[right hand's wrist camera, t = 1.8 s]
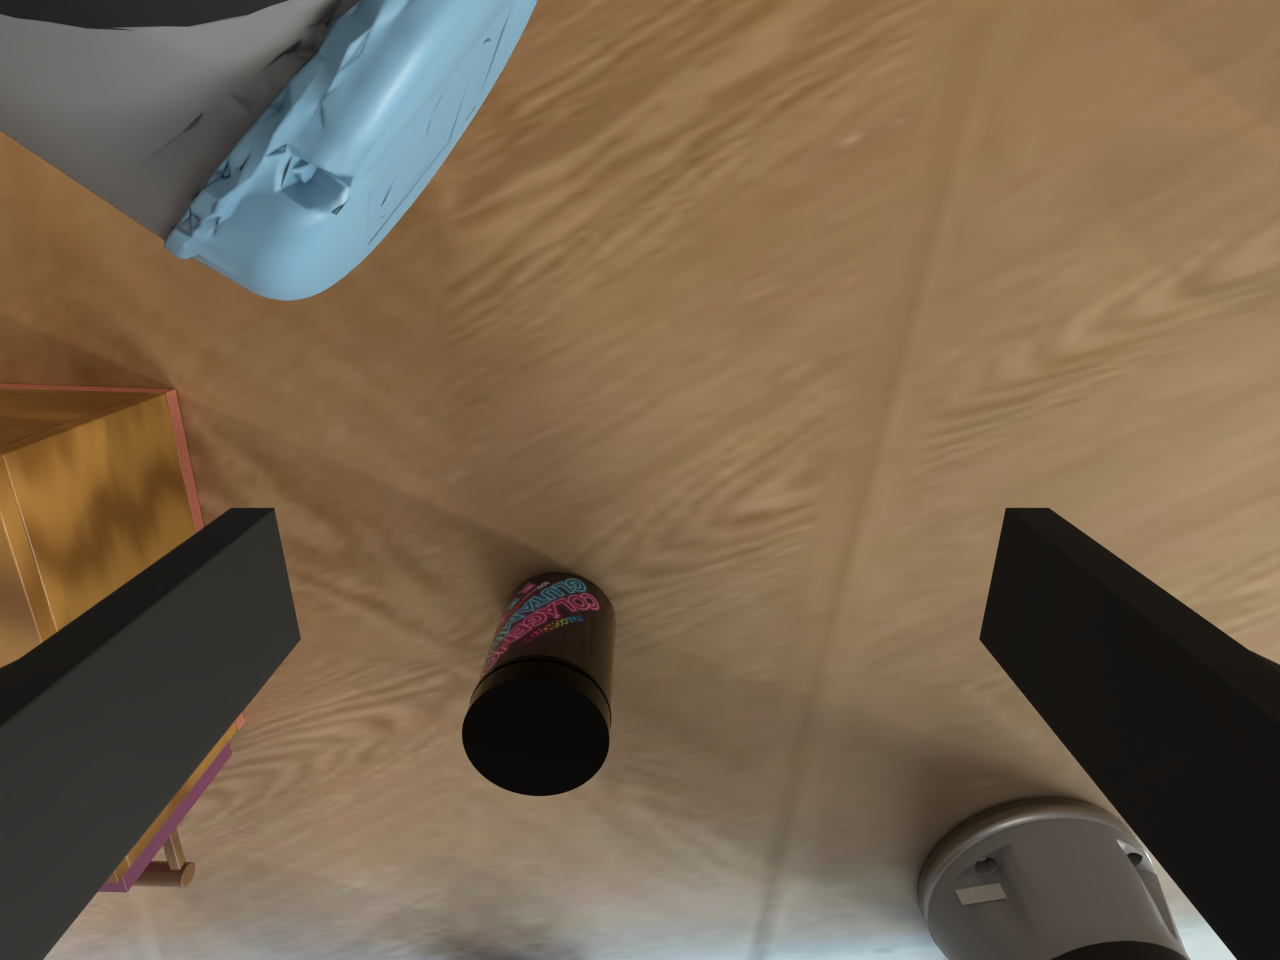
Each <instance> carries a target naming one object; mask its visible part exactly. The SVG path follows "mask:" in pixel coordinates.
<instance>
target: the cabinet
mask: <svg viewBox="0 0 1280 960" xmlns="http://www.w3.org/2000/svg"><path fill="white" fill-rule="evenodd" d="M202 528H204V524H203V519H202V514H201V510H200V505H199V500H198V495H197V490H196V485H195V481H194V476H193V471H192V466H191V461H190V456H189V452H188V447H187V442H186V437H185V432H184V428H183V423H182V418H181V413H180V408H179V403H178V399H177V394H176V389H153V388H123V387H93V386H63V385H33V384H4V383H0V668H1V667H3V666H5V665H7V664H9V663H11V662H13V661H16V660H18V659H20V658H21V657H22V656H24V655H25V654H27V653H28V652H29V651H31V650H32V649H34V648H35V647H36V646H38V645H39V644H41V643H42V642H43V641H45V640H46V639H48V638H49V637H50V636H52V635H53V634H55V633H56V632H58V631H59V630H60V629H62V628H63V627H65V626H66V625H67V624H69V623H70V622H72V621H73V620H74V619H76V618H77V617H79V616H80V615H81V614H83V613H84V612H86V611H87V610H88V609H90V608H91V607H93V606H94V605H96V604H97V603H98V602H100V601H101V600H103V599H104V598H105V597H107V596H108V595H110V594H111V593H112V592H114V591H115V590H117V589H118V588H119V587H121V586H122V585H124V584H125V583H126V582H128V581H129V580H131V579H132V578H133V577H135V576H136V575H138V574H139V573H141V572H142V571H143V570H145V569H146V568H148V567H149V566H150V565H152V564H153V563H155V562H156V561H157V560H159V559H160V558H162V557H163V556H164V555H166V554H167V553H169V552H170V551H171V550H173V549H174V548H176V547H177V546H179V545H180V544H181V543H183V542H184V541H186V540H187V539H188V538H190V537H191V536H193V535H194V534H195V533H197V532H198V531H200V530H201V529H202ZM243 724H244V717H243V712H242V713H241V714H240V715H239V717H238V718H237V719H236V720H235V722H234V723H233V724H232V725H231V726H230V728H229V729H228V730H227V731H226V733H225V734H224V735H223V736H222V738H221V739H220V740H219V741H218V743H217V744H216V745H215V746H214V748H213V749H212V750H211V751H210V753H209V754H208V755H207V756H206V758H205V759H204V760H203V761H202V763H201V764H200V765H199V766H198V767H197V769H196V770H195V771H194V772H193V774H192V775H191V776H190V777H189V779H188V780H187V781H186V782H185V784H184V785H183V786H182V787H181V789H180V790H179V791H178V792H177V794H176V795H175V796H174V797H173V799H172V800H171V801H170V802H169V804H168V805H167V806H166V807H165V808H164V810H163V811H162V812H161V813H160V815H159V816H158V817H157V818H156V820H155V821H154V822H153V823H152V825H151V826H150V827H149V828H148V830H147V831H146V832H145V833H144V835H143V836H142V837H141V838H140V840H139V841H138V842H137V843H136V845H135V846H134V847H133V848H132V850H131V851H130V852H129V853H128V854H127V856H126V857H125V858H124V859H123V861H122V862H121V863H120V864H119V866H118V867H117V868H116V869H115V871H114V872H113V873H112V874H111V876H110V877H109V878H108V879H107V881H106V883H118V882H119V881H120V880H121V878H122V877H123V876H124V875H125V873H126V872H127V871H128V869H129V867H131V865H132V864H133V863H134V862H135V860H136V859H137V858H138V856H139V855H140V854H141V853H142V851H143V850H144V849H145V848H146V846H147V845H148V844H149V842H150V841H151V840H152V839H153V837H154V836H155V835H156V833H157V832H158V831H159V830H160V828H161V827H162V826H163V825H164V823H165V822H166V821H167V819H168V818H169V817H170V816H171V814H172V813H173V812H174V811H175V809H176V808H177V807H178V805H179V804H180V803H181V802H182V800H183V799H184V798H185V796H186V795H187V794H188V793H189V791H190V790H191V789H192V788H193V786H194V785H195V784H196V782H197V781H198V780H199V779H200V777H201V776H202V775H203V774H204V772H205V771H206V770H207V768H208V767H209V766H210V765H211V763H212V762H213V761H214V759H215V758H216V757H217V756H218V754H219V753H220V752H221V751H222V749H223V748H224V747H225V745H226V744H227V743H228V742H229V740H230V739H231V738H232V737H233V735H234V734H235V733H236V731H238V730H239V729H240V727H241V726H242V725H243Z"/></svg>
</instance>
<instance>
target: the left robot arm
mask: <svg viewBox="0 0 1280 960" xmlns="http://www.w3.org/2000/svg"><path fill="white" fill-rule="evenodd" d="M536 3H537V0H0V131H1V132H3V133H4V134H6V135H7V136H9V137H10V138H12V139H13V140H15V141H16V142H18V143H19V144H21V145H22V146H24V147H25V148H27V149H28V150H30V151H31V152H33V153H34V154H36V155H37V156H39V157H40V158H42V159H43V160H45V161H46V162H48V163H49V164H51V165H52V166H54V167H55V168H57V169H58V170H60V171H61V172H63V173H64V174H66V175H67V176H69V177H70V178H72V179H73V180H75V181H76V182H78V183H79V184H81V185H82V186H84V187H85V188H87V189H88V190H90V191H91V192H93V193H94V194H96V195H97V196H99V197H100V198H102V199H103V200H105V201H106V202H108V203H109V204H111V205H112V206H114V207H115V208H117V209H118V210H120V211H121V212H123V213H124V214H126V215H127V216H129V217H130V218H132V219H133V220H135V221H136V222H138V223H139V224H141V225H142V226H144V227H145V228H147V229H148V230H150V231H151V232H153V233H154V234H156V235H157V236H159V237H160V238H162V239H163V240H165V243H164V248H166V249H167V250H168V251H169V252H171V253H172V254H173V255H174V256H176V257H178V258H180V259H190V258H194V259H196V260H197V261H199V262H201V263H203V264H204V265H206V266H208V267H210V268H212V269H213V270H215V271H217V272H218V273H220V274H222V275H223V276H225V277H227V278H229V279H230V280H232V281H234V282H235V283H237V284H239V285H240V286H242V287H244V288H245V289H247V290H249V291H250V292H253V293H255V294H257V295H260V296H263V297H266V298H269V299H276V300H287V301H291V300H299V299H304V298H308V297H311V296H313V295H316V294H318V293H321V292H323V291H324V290H326V289H328V288H329V287H331V286H332V285H334V284H335V283H336V282H338V281H339V280H340V279H342V278H343V277H345V276H346V275H347V274H348V273H349V272H350V271H351V270H353V269H354V268H355V267H356V266H357V265H358V264H359V263H360V262H361V261H362V260H363V259H365V258H366V257H367V256H368V255H369V253H370V252H371V251H372V250H373V249H374V248H375V247H376V246H377V245H378V244H379V243H380V242H381V241H382V239H383V238H384V237H385V236H386V235H387V234H388V233H389V231H390V230H391V229H392V228H393V227H394V226H395V224H396V223H397V222H398V221H399V220H400V218H401V217H402V216H403V215H404V213H405V212H406V211H407V210H408V209H409V207H410V206H411V205H412V204H413V203H414V201H415V200H416V199H417V197H418V196H419V195H420V193H421V192H422V191H423V189H424V188H425V187H426V185H427V184H428V183H429V182H430V180H431V179H432V177H433V176H434V175H435V173H436V172H437V171H438V169H439V168H440V166H441V165H442V164H443V162H444V161H445V159H446V158H447V156H448V155H449V153H450V152H451V150H452V149H453V147H454V146H455V145H456V143H457V142H458V140H459V139H460V137H461V136H462V134H463V133H464V131H465V130H466V128H467V127H468V125H469V124H470V122H471V121H472V119H473V118H474V116H475V114H476V113H477V111H478V110H479V108H480V107H481V105H482V103H483V102H484V100H485V99H486V97H487V95H488V94H489V92H490V90H491V89H492V87H493V85H494V84H495V82H496V80H497V78H498V77H499V75H500V73H501V72H502V70H503V68H504V67H505V65H506V63H507V61H508V59H509V57H510V56H511V54H512V52H513V50H514V48H515V46H516V44H517V42H518V41H519V39H520V37H521V35H522V33H523V31H524V29H525V27H526V25H527V23H528V20H529V18H530V16H531V14H532V12H533V10H534V7H535V5H536Z"/></svg>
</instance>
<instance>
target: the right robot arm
mask: <svg viewBox="0 0 1280 960" xmlns="http://www.w3.org/2000/svg"><path fill="white" fill-rule="evenodd" d="M300 639H301V638H300V633H299V628H298V623H297V619H296V614H295V609H294V604H293V599H292V594H291V589H290V584H289V579H288V574H287V569H286V564H285V559H284V554H283V550H282V545H281V540H280V535H279V530H278V525H277V520H276V515H275V510H274V508H231V509H229V510H228V511H226V512H225V513H224V514H222V515H221V516H219V517H218V518H217V519H215V520H214V521H212V522H211V523H209V524H208V525H207V526H205V527H204V528H202V529H201V530H200V531H198V532H197V533H195V534H194V535H193V536H191V537H190V538H188V539H187V540H186V541H184V542H183V543H181V544H180V545H179V546H177V547H176V548H174V549H173V550H171V551H170V552H169V553H167V554H166V555H164V556H163V557H162V558H160V559H159V560H157V561H156V562H155V563H153V564H152V565H150V566H149V567H148V568H146V569H145V570H143V571H142V572H141V573H139V574H138V575H136V576H135V577H133V578H132V579H131V580H129V581H128V582H126V583H125V584H124V585H122V586H121V587H119V588H118V589H117V590H115V591H114V592H112V593H111V594H110V595H108V596H107V597H105V598H104V599H103V600H101V601H100V602H98V603H97V604H96V605H94V606H93V607H91V608H90V609H88V610H87V611H86V612H84V613H83V614H81V615H80V616H79V617H77V618H76V619H74V620H73V621H72V622H70V623H69V624H67V625H66V626H65V627H63V628H62V629H60V630H59V631H58V632H56V633H55V634H53V635H52V636H50V637H49V638H48V639H46V640H45V641H43V642H42V643H41V644H39V645H38V646H36V647H35V648H34V649H32V650H31V651H29V652H28V653H27V654H25V655H24V656H22V657H21V658H20V659H18V660H16V661H13V662H11V663H9V664H7V665H5V666H3V667H1V668H0V960H43V959H44V958H45V956H46V955H47V954H48V953H49V951H50V950H51V949H52V948H53V946H54V945H55V944H56V943H57V941H58V940H59V939H60V938H61V937H62V935H63V934H64V933H65V932H66V930H67V929H68V928H69V927H70V925H71V924H72V923H73V922H74V920H75V919H76V918H77V917H78V915H79V914H80V913H81V912H82V910H83V909H84V908H85V907H86V905H87V904H88V903H89V902H90V900H91V899H92V898H93V897H94V895H95V894H96V893H97V892H98V891H99V889H100V888H101V887H102V886H103V884H104V883H105V882H106V881H107V879H108V878H109V877H110V876H111V874H112V873H113V872H114V871H115V869H116V868H117V867H118V866H119V864H120V863H121V862H122V861H123V859H124V858H125V857H126V856H127V854H128V853H129V852H130V851H131V850H132V848H133V847H134V846H135V845H136V843H137V842H138V841H139V840H140V838H141V837H142V836H143V835H144V833H145V832H146V831H147V830H148V828H149V827H150V826H151V825H152V823H153V822H154V821H155V820H156V818H157V817H158V816H159V815H160V813H161V812H162V811H163V810H164V808H165V807H166V806H167V805H168V804H169V802H170V801H171V800H172V799H173V797H174V796H175V795H176V794H177V792H178V791H179V790H180V789H181V787H182V786H183V785H184V784H185V782H186V781H187V780H188V779H189V777H190V776H191V775H192V774H193V772H194V771H195V770H196V769H197V767H198V766H199V765H200V764H201V763H202V761H203V760H204V759H205V758H206V756H207V755H208V754H209V753H210V751H211V750H212V749H213V748H214V746H215V745H216V744H217V743H218V741H219V740H220V739H221V738H222V736H223V735H224V734H225V733H226V731H227V730H228V729H229V728H230V726H231V725H232V724H233V723H234V722H235V720H236V719H237V718H238V717H239V715H240V714H241V713H242V712H243V710H244V709H245V708H246V707H247V705H248V704H249V703H250V702H251V700H252V699H253V698H254V697H255V695H256V694H257V693H258V692H259V690H260V689H261V688H262V687H263V685H264V684H265V683H266V682H267V680H268V679H269V678H270V677H271V676H272V674H273V673H274V672H275V671H276V669H277V668H278V667H279V666H280V664H281V663H282V662H283V661H284V659H285V658H286V657H287V656H288V654H289V653H290V652H291V651H292V649H293V648H294V647H295V646H296V644H297V643H298V642H299V641H300ZM979 639H980V641H981V642H982V643H983V644H984V646H985V647H986V648H987V649H988V651H989V652H990V653H991V654H992V656H993V657H994V658H995V659H996V661H997V662H998V663H999V664H1000V666H1001V667H1002V668H1003V669H1004V671H1005V672H1006V673H1007V674H1008V676H1009V677H1010V678H1011V679H1012V680H1013V682H1014V683H1015V684H1016V685H1017V687H1018V688H1019V689H1020V690H1021V692H1022V693H1023V694H1024V695H1025V697H1026V698H1027V699H1028V700H1029V702H1030V703H1031V704H1032V705H1033V707H1034V708H1035V709H1036V710H1037V712H1038V713H1039V714H1040V715H1041V717H1042V718H1043V719H1044V720H1045V722H1046V723H1047V724H1048V725H1049V726H1050V728H1051V729H1052V730H1053V731H1054V733H1055V734H1056V735H1057V736H1058V738H1059V739H1060V740H1061V741H1062V743H1063V744H1064V745H1065V746H1066V748H1067V749H1068V750H1069V751H1070V753H1071V754H1072V755H1073V756H1074V758H1075V759H1076V760H1077V761H1078V763H1079V764H1080V765H1081V766H1082V767H1083V769H1084V770H1085V771H1086V772H1087V774H1088V775H1089V776H1090V777H1091V779H1092V780H1093V781H1094V782H1095V784H1096V785H1097V786H1098V787H1099V789H1100V790H1101V791H1102V792H1103V794H1104V795H1105V796H1106V797H1107V799H1108V800H1109V801H1110V802H1111V804H1112V805H1113V806H1114V807H1115V808H1116V810H1117V811H1118V812H1119V813H1120V815H1121V816H1122V817H1123V818H1124V820H1125V821H1126V822H1127V823H1128V825H1129V826H1130V827H1131V828H1132V830H1133V831H1134V832H1135V833H1136V835H1137V836H1138V837H1139V838H1140V840H1141V841H1142V842H1143V843H1144V845H1145V846H1146V847H1147V848H1148V850H1149V851H1150V852H1151V853H1152V854H1153V856H1154V857H1155V858H1156V859H1157V861H1158V862H1159V863H1160V864H1161V866H1162V867H1163V868H1164V869H1165V871H1166V872H1167V873H1168V874H1169V876H1170V877H1171V878H1172V879H1173V881H1174V882H1175V883H1176V884H1177V886H1178V887H1179V888H1180V889H1181V891H1182V892H1183V893H1184V894H1185V895H1186V897H1187V898H1188V899H1189V900H1190V902H1191V903H1192V904H1193V905H1194V907H1195V908H1196V909H1197V910H1198V912H1199V913H1200V914H1201V915H1202V917H1203V918H1204V919H1205V920H1206V922H1207V923H1208V924H1209V925H1210V927H1211V928H1212V929H1213V930H1214V932H1215V933H1216V934H1217V935H1218V937H1219V938H1220V939H1221V940H1222V941H1223V943H1224V944H1225V945H1226V946H1227V948H1228V949H1229V950H1230V951H1231V953H1232V954H1233V955H1234V956H1235V958H1236V959H1237V960H1280V665H1279V664H1277V663H1275V662H1273V661H1271V660H1269V659H1267V658H1265V657H1262V656H1260V655H1258V654H1256V653H1254V652H1252V651H1249V650H1248V649H1246V648H1245V647H1244V646H1242V645H1241V644H1239V643H1238V642H1237V641H1235V640H1234V639H1232V638H1231V637H1230V636H1228V635H1227V634H1225V633H1224V632H1222V631H1221V630H1220V629H1218V628H1217V627H1215V626H1214V625H1213V624H1211V623H1210V622H1208V621H1207V620H1206V619H1204V618H1203V617H1201V616H1200V615H1199V614H1197V613H1196V612H1194V611H1193V610H1192V609H1190V608H1189V607H1187V606H1186V605H1184V604H1183V603H1182V602H1180V601H1179V600H1177V599H1176V598H1175V597H1173V596H1172V595H1170V594H1169V593H1168V592H1166V591H1165V590H1163V589H1162V588H1161V587H1159V586H1158V585H1156V584H1155V583H1154V582H1152V581H1151V580H1149V579H1148V578H1147V577H1145V576H1144V575H1142V574H1141V573H1139V572H1138V571H1137V570H1135V569H1134V568H1132V567H1131V566H1130V565H1128V564H1127V563H1125V562H1124V561H1123V560H1121V559H1120V558H1118V557H1117V556H1116V555H1114V554H1113V553H1111V552H1110V551H1109V550H1107V549H1106V548H1104V547H1103V546H1101V545H1100V544H1099V543H1097V542H1096V541H1094V540H1093V539H1092V538H1090V537H1089V536H1087V535H1086V534H1085V533H1083V532H1082V531H1080V530H1079V529H1078V528H1076V527H1075V526H1073V525H1072V524H1071V523H1069V522H1068V521H1066V520H1065V519H1063V518H1062V517H1061V516H1059V515H1058V514H1056V513H1055V512H1054V511H1052V510H1051V509H1049V508H1006V510H1005V515H1004V520H1003V525H1002V530H1001V535H1000V540H999V545H998V550H997V554H996V559H995V564H994V569H993V574H992V579H991V584H990V589H989V594H988V599H987V604H986V609H985V614H984V619H983V623H982V628H981V633H980V638H979ZM918 898H919V904H920V908H921V911H922V913H923V916H924V918H925V921H926V923H927V926H928V928H929V931H930V933H931V936H932V938H933V939H934V941H935V943H936V944H937V946H938V947H939V948H940V950H941V951H942V953H943V954H944V955H945V956H946V958H947V959H948V960H1190V958H1189V957H1188V955H1187V953H1186V951H1185V948H1184V946H1183V943H1182V940H1181V938H1180V935H1179V932H1178V930H1177V927H1176V924H1175V922H1174V919H1173V917H1172V914H1171V911H1170V909H1169V906H1168V903H1167V901H1166V898H1165V895H1164V893H1163V890H1162V887H1161V885H1160V882H1159V880H1158V877H1157V874H1156V872H1155V869H1154V867H1153V865H1152V863H1151V860H1150V858H1149V856H1148V855H1147V853H1146V852H1145V850H1144V849H1143V848H1142V846H1141V845H1140V844H1139V842H1138V841H1137V840H1136V839H1135V837H1134V836H1133V835H1132V834H1131V832H1130V831H1129V830H1128V829H1127V827H1126V826H1125V825H1124V824H1123V823H1122V822H1121V821H1120V820H1119V819H1117V818H1116V817H1115V816H1114V815H1112V814H1110V813H1109V812H1107V811H1106V810H1103V809H1101V808H1099V807H1097V806H1094V805H1092V804H1089V803H1085V802H1082V801H1078V800H1072V799H1064V798H1035V799H1027V800H1021V801H1016V802H1012V803H1008V804H1005V805H1001V806H998V807H996V808H993V809H990V810H988V811H985V812H983V813H981V814H979V815H977V816H975V817H973V818H971V819H970V820H968V821H966V822H965V823H963V824H962V825H960V826H959V827H957V828H956V829H955V830H954V831H952V832H951V833H950V834H949V835H948V836H947V837H945V838H944V839H943V840H942V841H941V842H940V844H939V845H938V846H937V847H936V848H935V850H934V851H933V852H932V853H931V855H930V857H929V858H928V860H927V861H926V864H925V866H924V868H923V870H922V873H921V876H920V880H919V886H918Z"/></svg>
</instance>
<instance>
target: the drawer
mask: <svg viewBox="0 0 1280 960" xmlns="http://www.w3.org/2000/svg"><path fill="white" fill-rule="evenodd" d="M231 755H232V754H231V749H230V745H229V742H228V743H227V744H226V745H225V747H224V748H223V749H222V751H221V752H220V753H219V754H218V756H217V757H216V758H215V759H214V761H213V762H212V763H211V765H210V766H209V767H208V768H207V770H206V771H205V772H204V774H203V775H202V776H201V777H200V779H199V780H198V781H197V782H196V784H195V785H194V786H193V788H192V789H191V790H190V791H189V793H188V794H187V795H186V796H185V798H184V799H183V800H182V802H181V803H180V804H179V805H178V807H177V808H176V809H175V811H174V812H173V813H172V814H171V816H170V817H169V818H168V819H167V821H166V822H165V823H164V825H163V826H162V827H161V828H160V830H159V831H158V832H157V833H156V835H155V836H154V837H153V839H152V840H151V841H150V842H149V844H148V845H147V846H146V848H145V849H144V850H143V851H142V853H141V854H140V855H139V856H138V858H137V859H136V860H135V862H134V863H133V864H132V865H131V867H129V869H128V871H127V872H126V873H125V875H124V876H123V877H122V878H121V880H120V881H119V882H118V883H106V882H105V883H104V884H103V886H102V887H101V888H100V889H99V891H98V892H128V891H129V889H130V888H131V887H132V886H153V887H186V886H188V885H189V884H190V882H191V881H192V879H193V876H194V873H195V865H194V863H193V862H185V858H184V855H183V851H182V847H181V843H180V840H179V836H178V832H177V828H176V827H177V826H178V825H179V823H180V822H181V821H182V819H183V818H184V817H185V815H186V814H187V813H188V811H189V810H190V809H191V808H192V806H193V805H194V804H195V802H196V801H197V800H198V798H199V797H200V796H201V794H202V793H203V792H204V790H205V789H206V788H207V786H208V785H209V784H210V783H211V781H212V780H213V779H214V777H215V776H216V775H217V773H218V772H219V771H220V769H221V768H222V767H223V765H224V764H225V763H226V761H227V760H228V759H229V757H230V756H231ZM162 846H164V850H165V854H166V857H167V861H151V860H152V859H153V858H154V856H155V855H156V854H157V852H158V851H159V850H160V848H161V847H162Z"/></svg>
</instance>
